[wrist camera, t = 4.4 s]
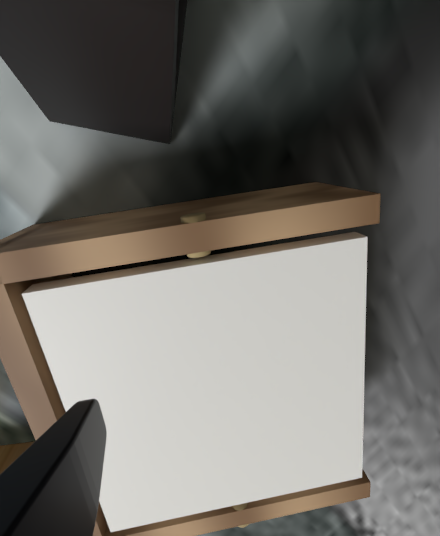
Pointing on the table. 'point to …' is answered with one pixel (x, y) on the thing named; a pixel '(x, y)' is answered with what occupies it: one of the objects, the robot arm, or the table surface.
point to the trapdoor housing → (157, 247)
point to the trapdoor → (215, 373)
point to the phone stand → (98, 61)
